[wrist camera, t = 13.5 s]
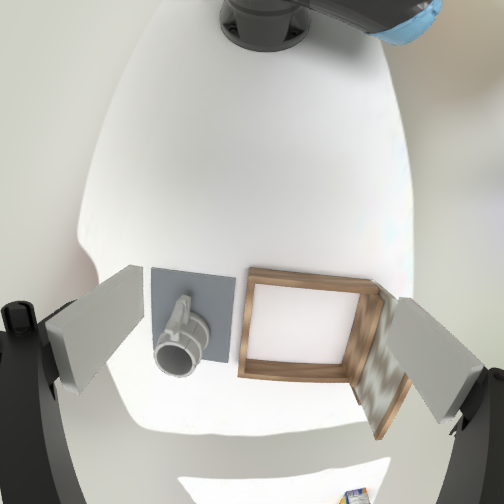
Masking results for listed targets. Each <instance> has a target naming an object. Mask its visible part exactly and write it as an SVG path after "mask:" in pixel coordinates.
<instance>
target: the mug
mask: <svg viewBox="0 0 504 504" xmlns="http://www.w3.org/2000/svg"><path fill="white" fill-rule="evenodd" d="M190 308H191V297H190V296H188V295H182V296H181V297H180V298H179V299H178V300H177V301H176V305H175V307H174V310H173V311H172V314H171V317H170V319H169V320H168V322H167V324H166V327H165V331H164V332H163V333H161V335H160V337H159V339H158V343H157V346H156V348H155V350H154V359H155V362H156V364H157V366H158V367H159V369H160V370H161V371H162V372H164V373H166V374H168V375H173V376H174V377H178V378H180V377H187V376H189V375H191V374H192V373H193V371H194V370H195V368H196V365H198V364H199V363H200V360H201V358H202V355H203V350H204V349H206V347H207V345H208V343H209V340H210V331H209V327H208V325H207V323H206V321H205V320H204V319H203V318H202V317H201V316H200V315H198V314H196V313H193V312H190Z"/></svg>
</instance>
